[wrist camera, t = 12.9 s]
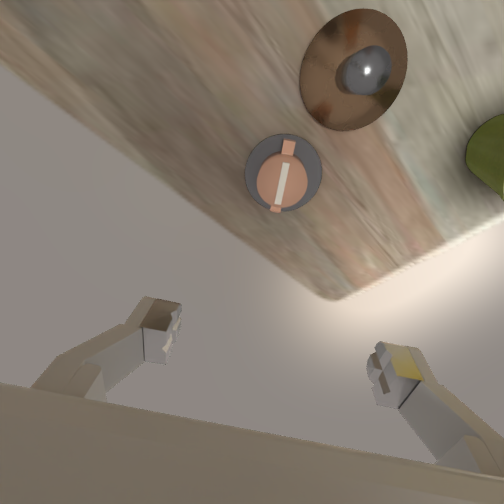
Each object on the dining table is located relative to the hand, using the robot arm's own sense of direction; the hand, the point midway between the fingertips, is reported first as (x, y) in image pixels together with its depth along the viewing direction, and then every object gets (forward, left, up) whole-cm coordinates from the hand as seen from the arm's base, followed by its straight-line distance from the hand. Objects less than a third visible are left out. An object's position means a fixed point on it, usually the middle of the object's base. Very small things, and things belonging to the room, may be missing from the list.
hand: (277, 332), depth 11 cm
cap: (0, -1, -28) cm, 28 cm away
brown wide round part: (+5, +11, -29) cm, 31 cm away
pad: (0, -1, -29) cm, 29 cm away
